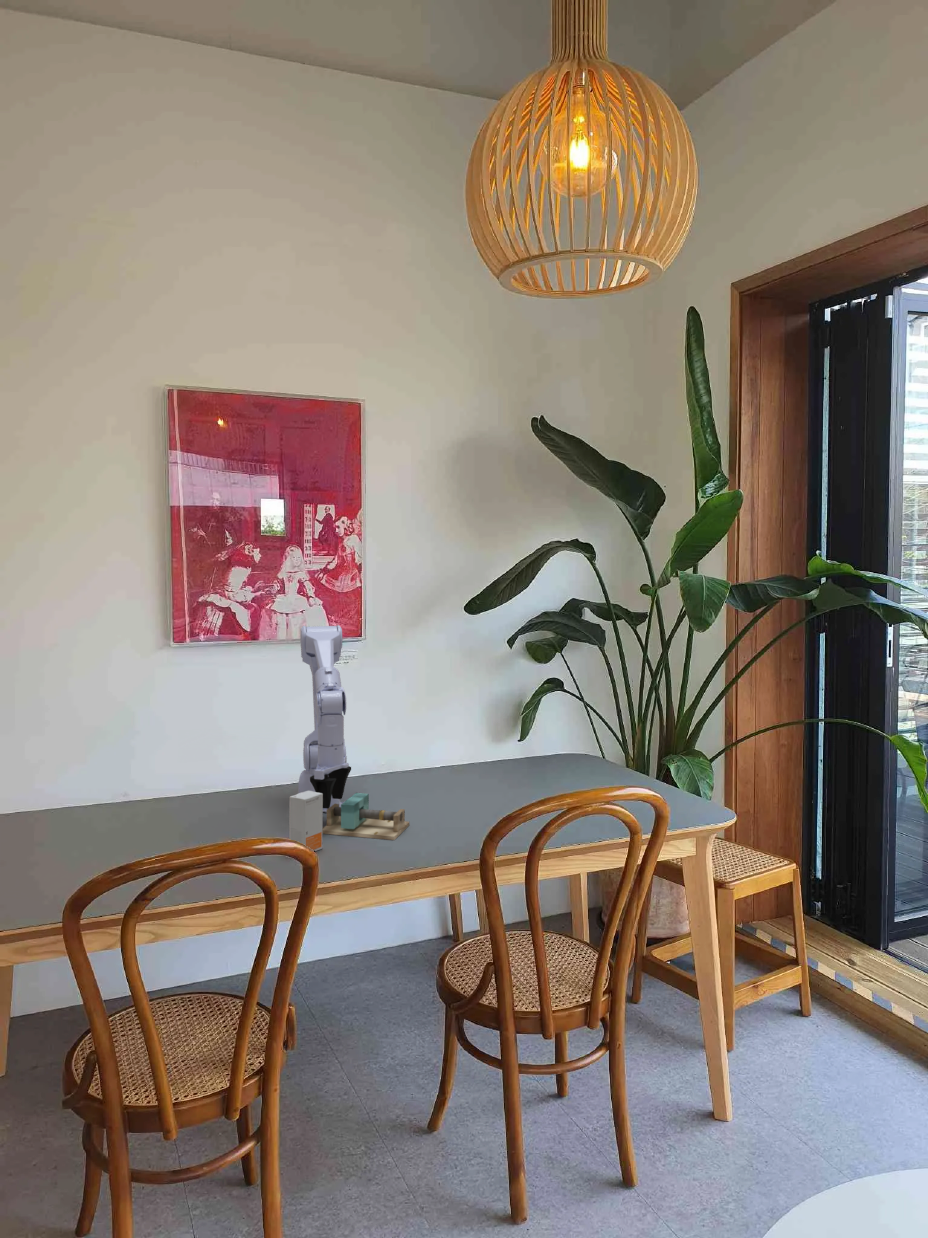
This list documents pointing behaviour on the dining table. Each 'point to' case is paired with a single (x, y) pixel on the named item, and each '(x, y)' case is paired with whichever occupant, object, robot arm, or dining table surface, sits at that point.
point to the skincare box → (306, 818)
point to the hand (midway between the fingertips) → (331, 803)
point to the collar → (353, 810)
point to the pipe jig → (368, 823)
